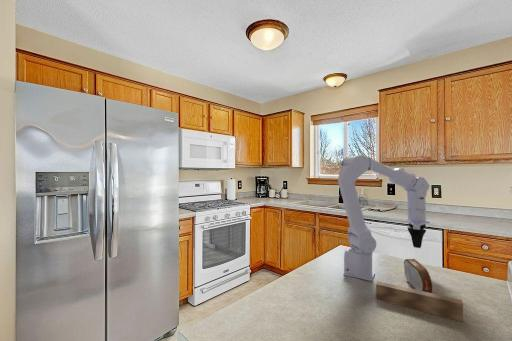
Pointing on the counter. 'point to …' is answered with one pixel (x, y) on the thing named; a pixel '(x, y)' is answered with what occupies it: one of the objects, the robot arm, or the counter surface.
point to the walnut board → (420, 300)
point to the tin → (417, 275)
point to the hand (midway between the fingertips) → (417, 244)
